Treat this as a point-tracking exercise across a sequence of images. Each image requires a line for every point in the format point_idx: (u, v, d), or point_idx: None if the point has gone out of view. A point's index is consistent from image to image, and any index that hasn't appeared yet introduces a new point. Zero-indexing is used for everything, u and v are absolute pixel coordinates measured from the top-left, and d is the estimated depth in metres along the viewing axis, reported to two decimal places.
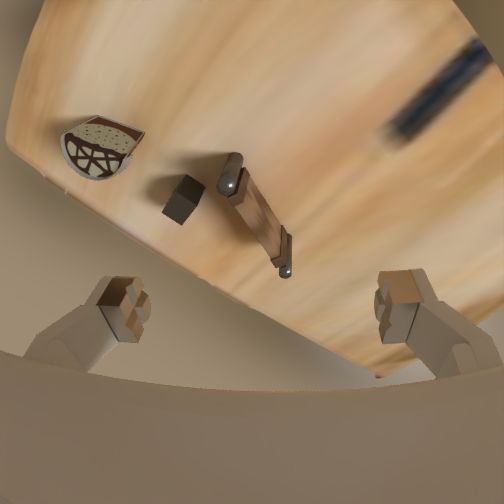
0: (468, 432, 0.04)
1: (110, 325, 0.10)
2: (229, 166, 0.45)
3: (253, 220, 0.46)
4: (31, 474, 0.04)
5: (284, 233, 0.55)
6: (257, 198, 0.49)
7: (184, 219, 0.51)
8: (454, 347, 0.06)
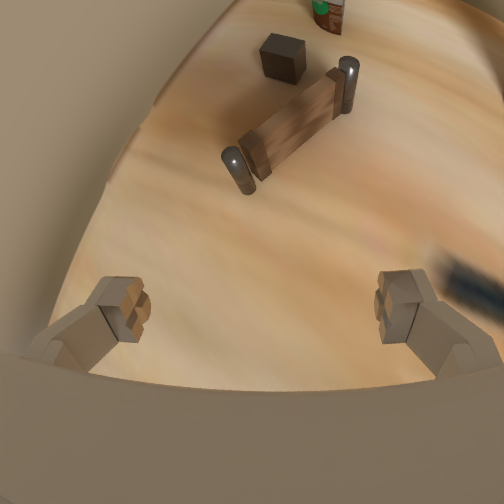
0: (468, 432, 0.04)
1: (110, 325, 0.10)
2: None
3: (313, 96, 0.30)
4: (31, 475, 0.04)
5: (266, 172, 0.37)
6: (317, 121, 0.36)
7: (269, 50, 0.36)
8: (454, 347, 0.06)
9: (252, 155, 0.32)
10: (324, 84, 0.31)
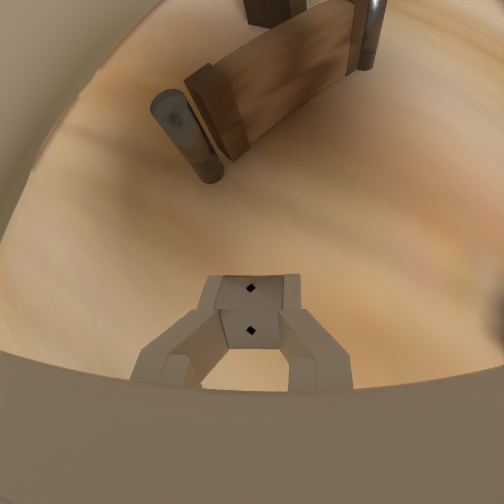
0: (468, 432, 0.04)
1: (226, 331, 0.09)
2: None
3: (319, 18, 0.16)
4: (31, 474, 0.04)
5: (239, 144, 0.22)
6: (323, 69, 0.21)
7: None
8: (292, 360, 0.07)
9: (208, 106, 0.16)
10: (336, 6, 0.16)
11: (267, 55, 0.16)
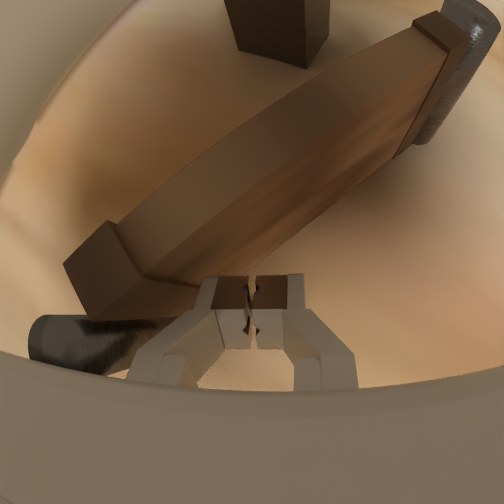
0: (468, 432, 0.04)
1: (222, 331, 0.09)
2: None
3: (379, 87, 0.07)
4: (31, 474, 0.04)
5: None
6: (362, 166, 0.12)
7: None
8: (298, 360, 0.07)
9: (118, 317, 0.08)
10: (412, 52, 0.07)
11: (243, 199, 0.07)
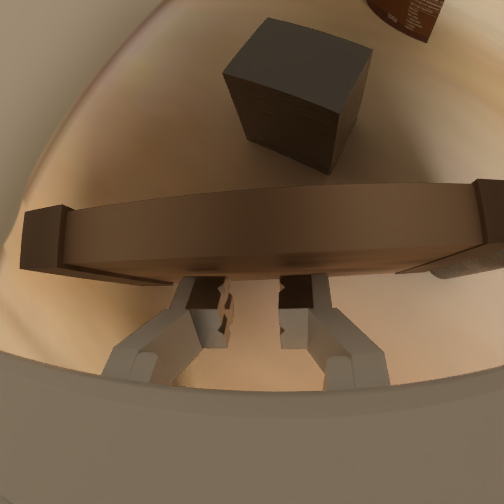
0: (468, 432, 0.04)
1: (199, 330, 0.09)
2: None
3: (356, 239, 0.07)
4: (31, 474, 0.04)
5: (145, 283, 0.14)
6: (342, 271, 0.12)
7: (255, 77, 0.11)
8: (329, 359, 0.07)
9: (46, 272, 0.09)
10: (440, 218, 0.06)
11: (156, 260, 0.08)
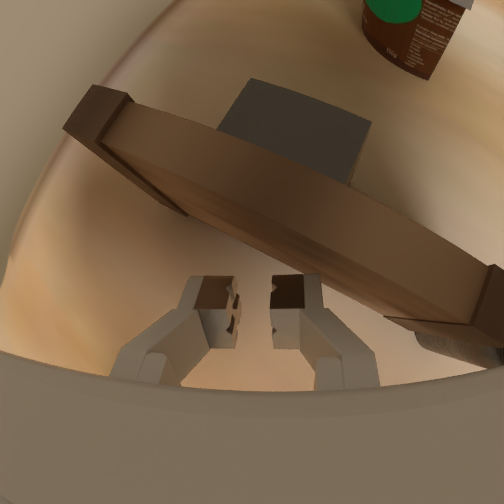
0: (468, 432, 0.04)
1: (206, 331, 0.09)
2: None
3: (356, 251, 0.07)
4: (31, 474, 0.04)
5: (164, 202, 0.15)
6: (336, 283, 0.12)
7: None
8: (319, 360, 0.07)
9: (83, 144, 0.09)
10: (441, 277, 0.06)
11: (179, 178, 0.08)
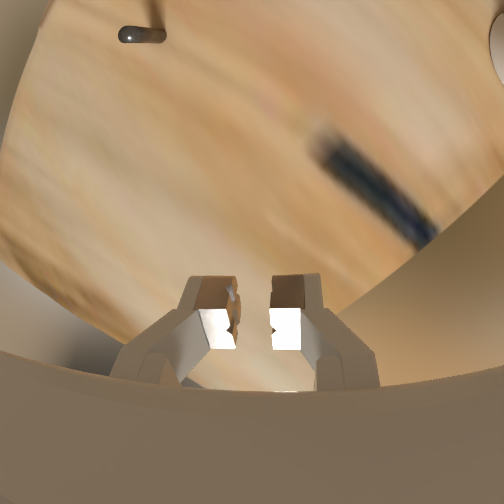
0: (468, 432, 0.04)
1: (206, 330, 0.09)
2: None
3: None
4: (31, 474, 0.04)
5: None
6: None
7: None
8: (319, 360, 0.07)
9: None
10: None
11: None
